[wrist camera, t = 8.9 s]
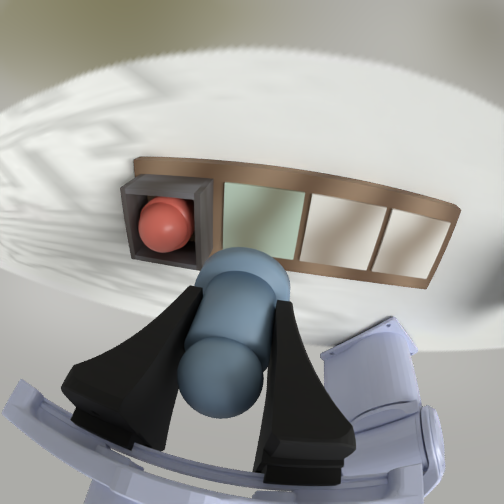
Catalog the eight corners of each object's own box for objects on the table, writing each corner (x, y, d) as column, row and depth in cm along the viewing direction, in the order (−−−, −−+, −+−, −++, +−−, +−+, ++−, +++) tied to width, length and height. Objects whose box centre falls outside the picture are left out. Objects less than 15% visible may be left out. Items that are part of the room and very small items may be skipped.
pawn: (244, 328, 16) (219, 440, 10) (183, 278, 14) (127, 392, 8) (308, 291, 13) (306, 425, 8) (243, 228, 12) (195, 365, 6)
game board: (455, 204, 17) (479, 228, 14) (423, 282, 22) (436, 312, 18) (139, 156, 19) (111, 172, 16) (148, 242, 24) (127, 268, 20)
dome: (199, 191, 19) (179, 215, 16) (200, 240, 21) (183, 269, 18) (149, 187, 19) (122, 209, 16) (153, 233, 21) (131, 260, 18)
